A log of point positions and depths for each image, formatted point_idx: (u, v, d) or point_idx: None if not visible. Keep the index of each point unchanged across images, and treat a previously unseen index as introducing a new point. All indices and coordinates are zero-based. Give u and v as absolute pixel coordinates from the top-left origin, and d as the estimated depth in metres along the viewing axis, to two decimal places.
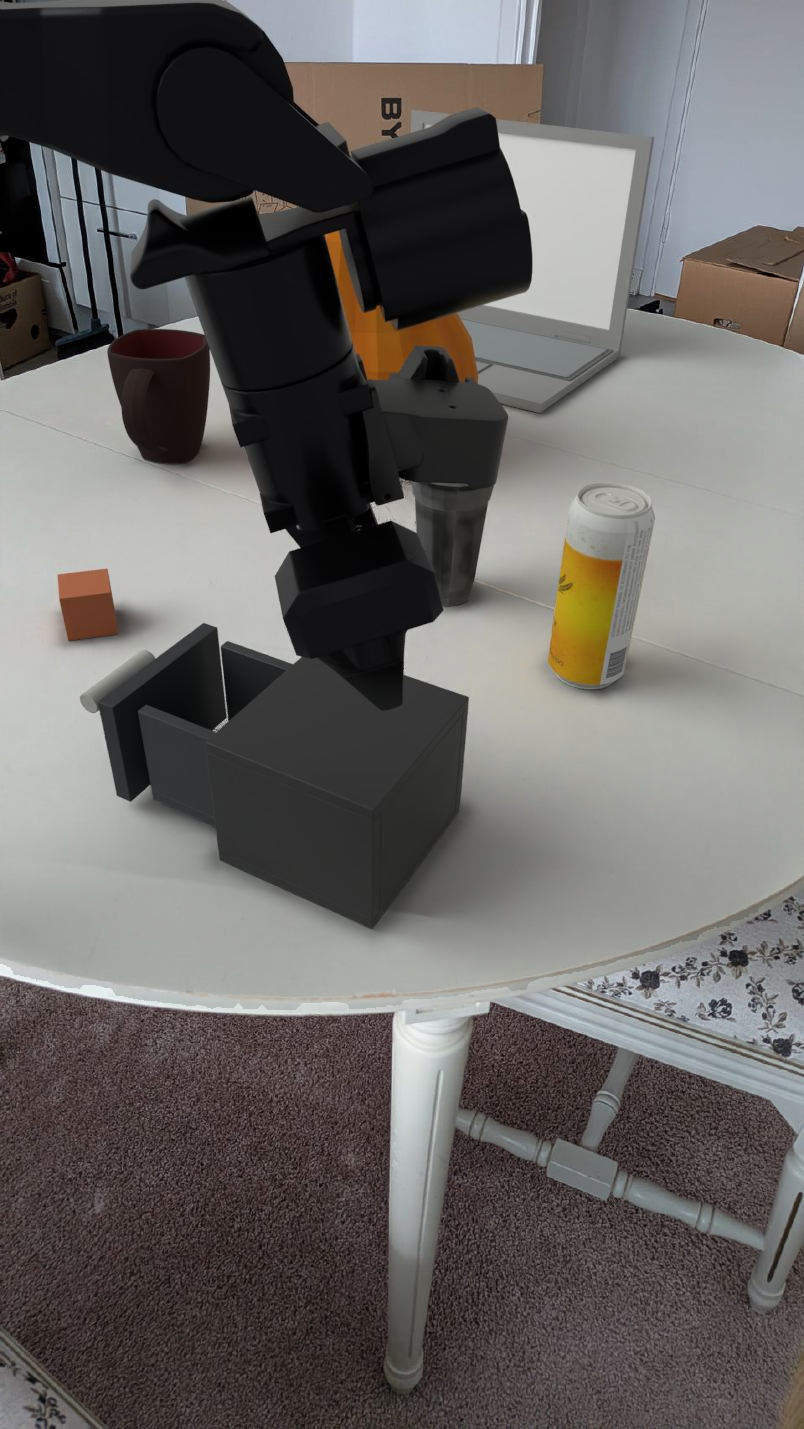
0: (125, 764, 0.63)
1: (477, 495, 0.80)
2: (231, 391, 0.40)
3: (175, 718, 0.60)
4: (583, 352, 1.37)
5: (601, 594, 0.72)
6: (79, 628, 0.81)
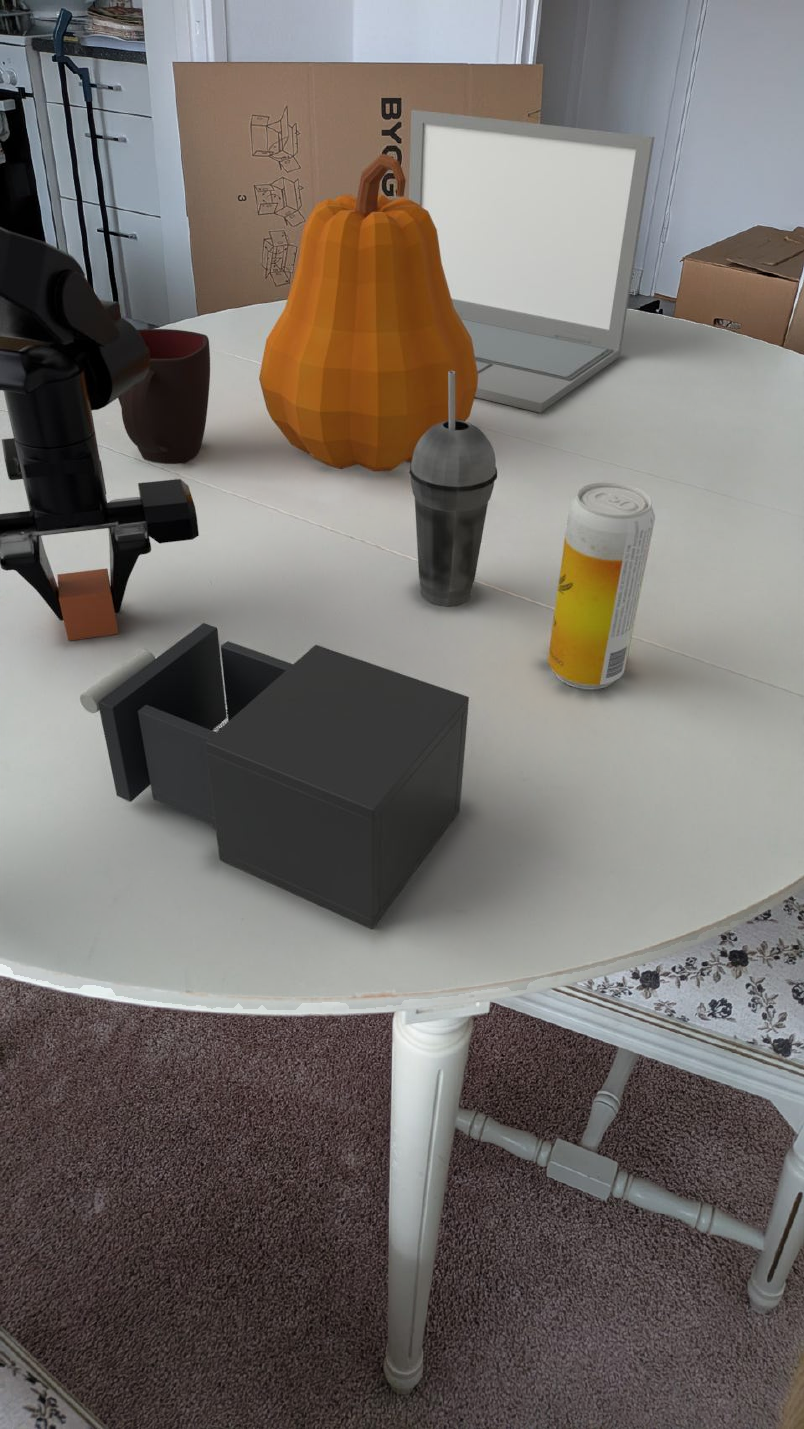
0: (125, 764, 0.63)
1: (477, 495, 0.80)
2: (75, 445, 0.71)
3: (175, 718, 0.60)
4: (583, 352, 1.37)
5: (601, 594, 0.72)
6: (78, 628, 0.81)
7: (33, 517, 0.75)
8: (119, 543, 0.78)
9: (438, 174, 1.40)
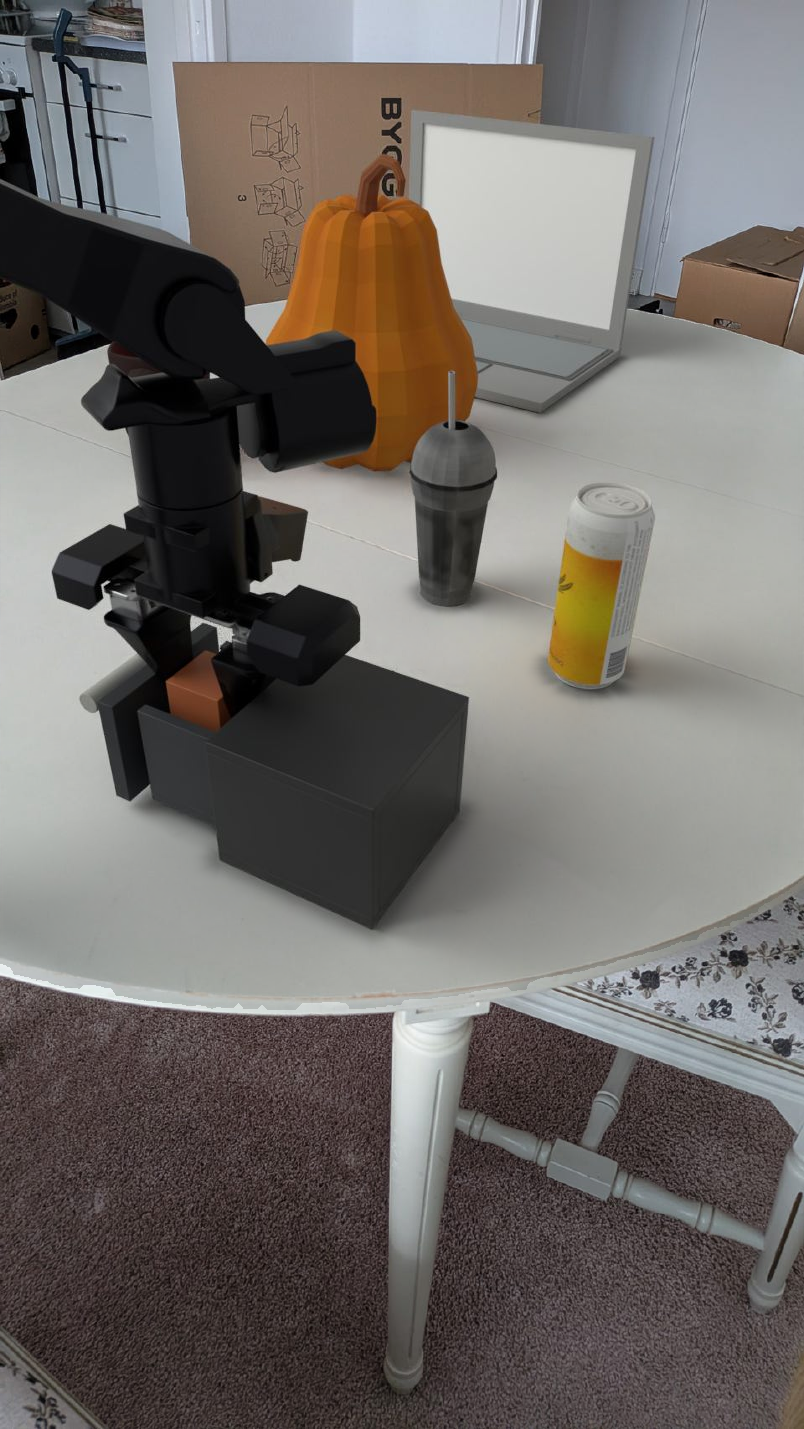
0: (124, 764, 0.63)
1: (477, 495, 0.80)
2: (180, 512, 0.52)
3: (174, 717, 0.60)
4: (583, 352, 1.37)
5: (601, 594, 0.72)
6: None
7: None
8: (232, 649, 0.57)
9: (438, 174, 1.40)
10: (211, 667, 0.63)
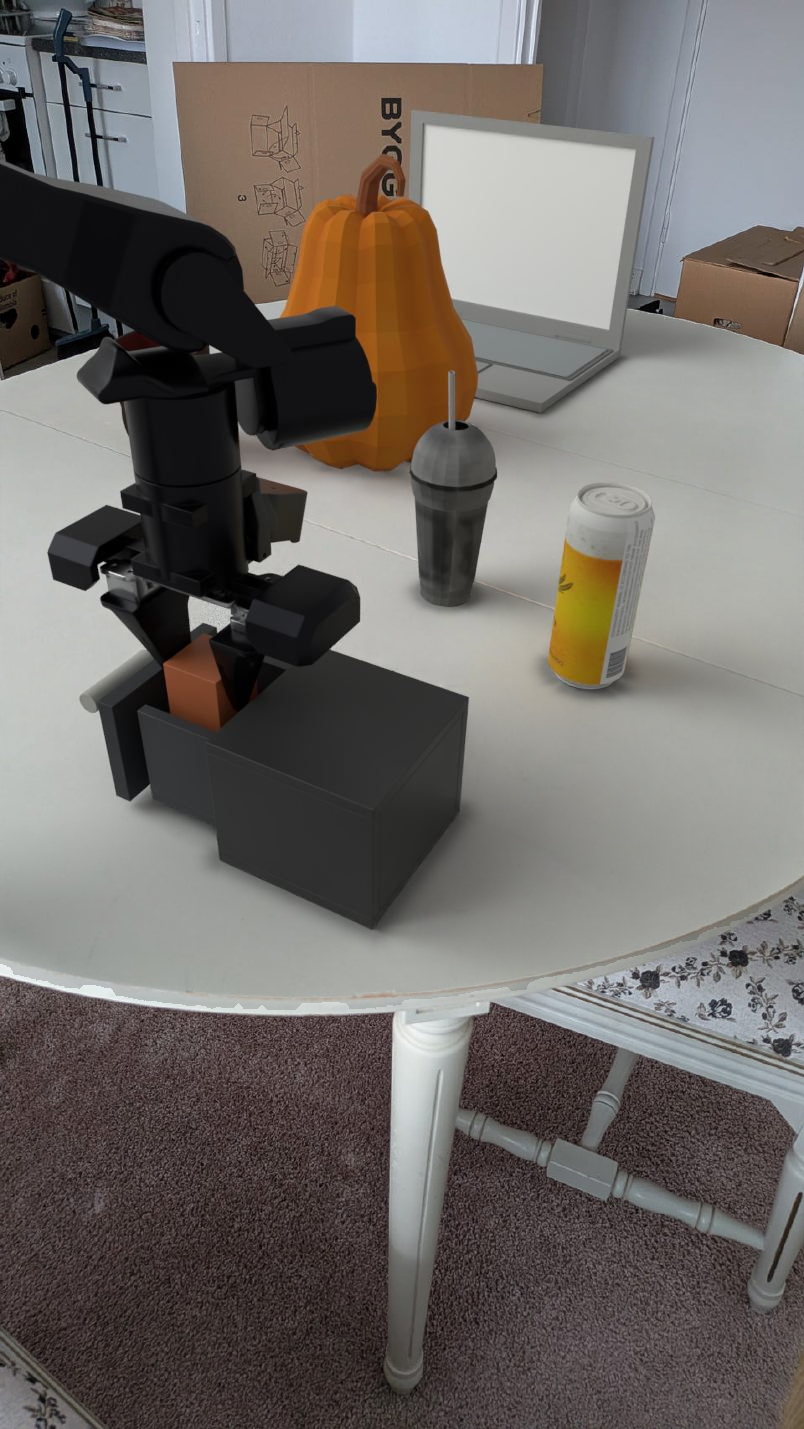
0: (124, 764, 0.63)
1: (477, 495, 0.80)
2: (177, 488, 0.51)
3: (174, 717, 0.60)
4: (583, 352, 1.37)
5: (601, 594, 0.72)
6: (181, 707, 0.62)
7: None
8: (230, 630, 0.57)
9: (438, 174, 1.40)
10: (209, 650, 0.62)
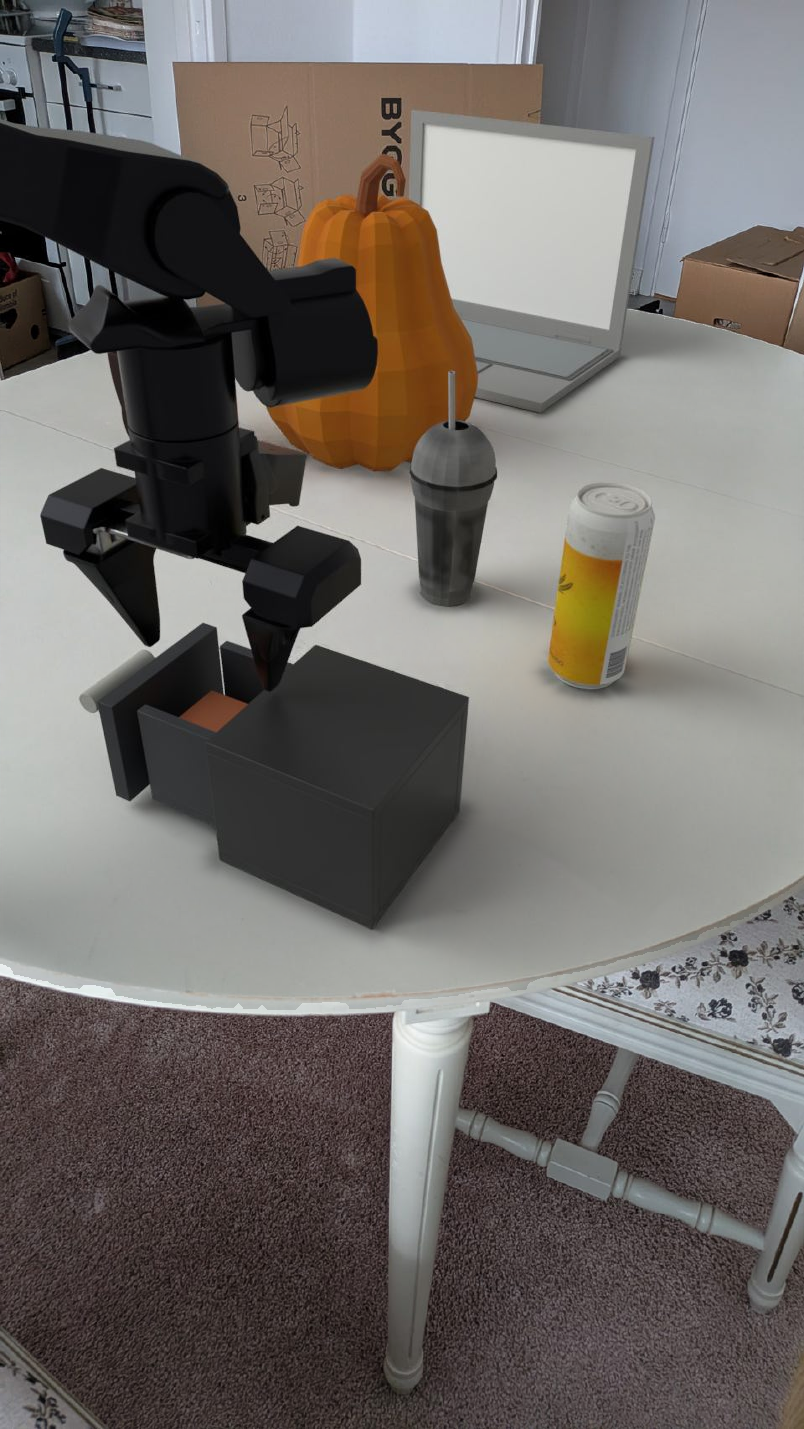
0: (124, 764, 0.63)
1: (477, 495, 0.80)
2: (173, 444, 0.50)
3: (174, 717, 0.60)
4: (583, 352, 1.37)
5: (601, 594, 0.72)
6: None
7: None
8: None
9: (438, 174, 1.40)
10: (217, 707, 0.65)
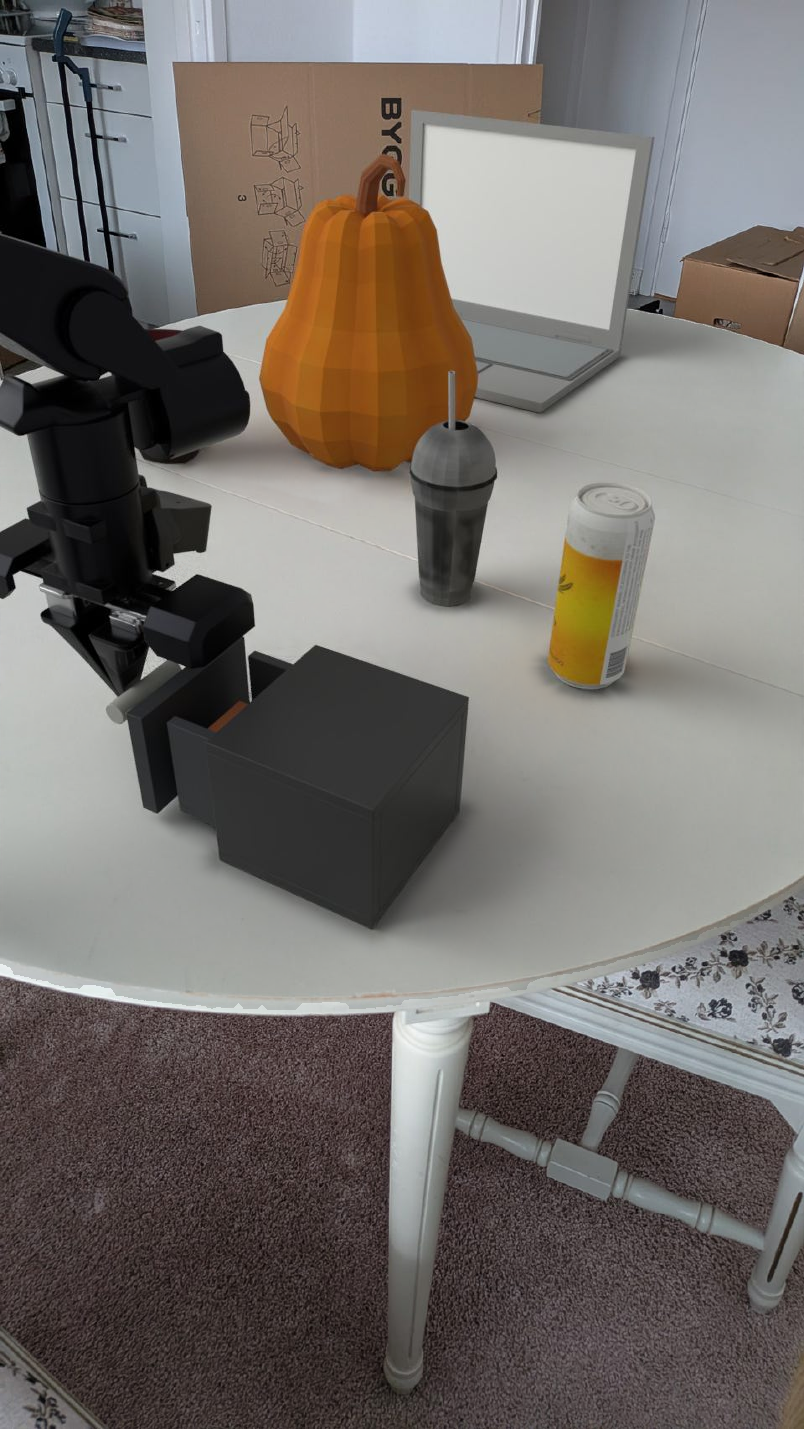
0: (152, 776, 0.62)
1: (477, 495, 0.80)
2: (76, 506, 0.56)
3: (205, 729, 0.59)
4: (583, 352, 1.37)
5: (601, 594, 0.72)
6: None
7: None
8: (110, 626, 0.62)
9: (438, 174, 1.40)
10: None
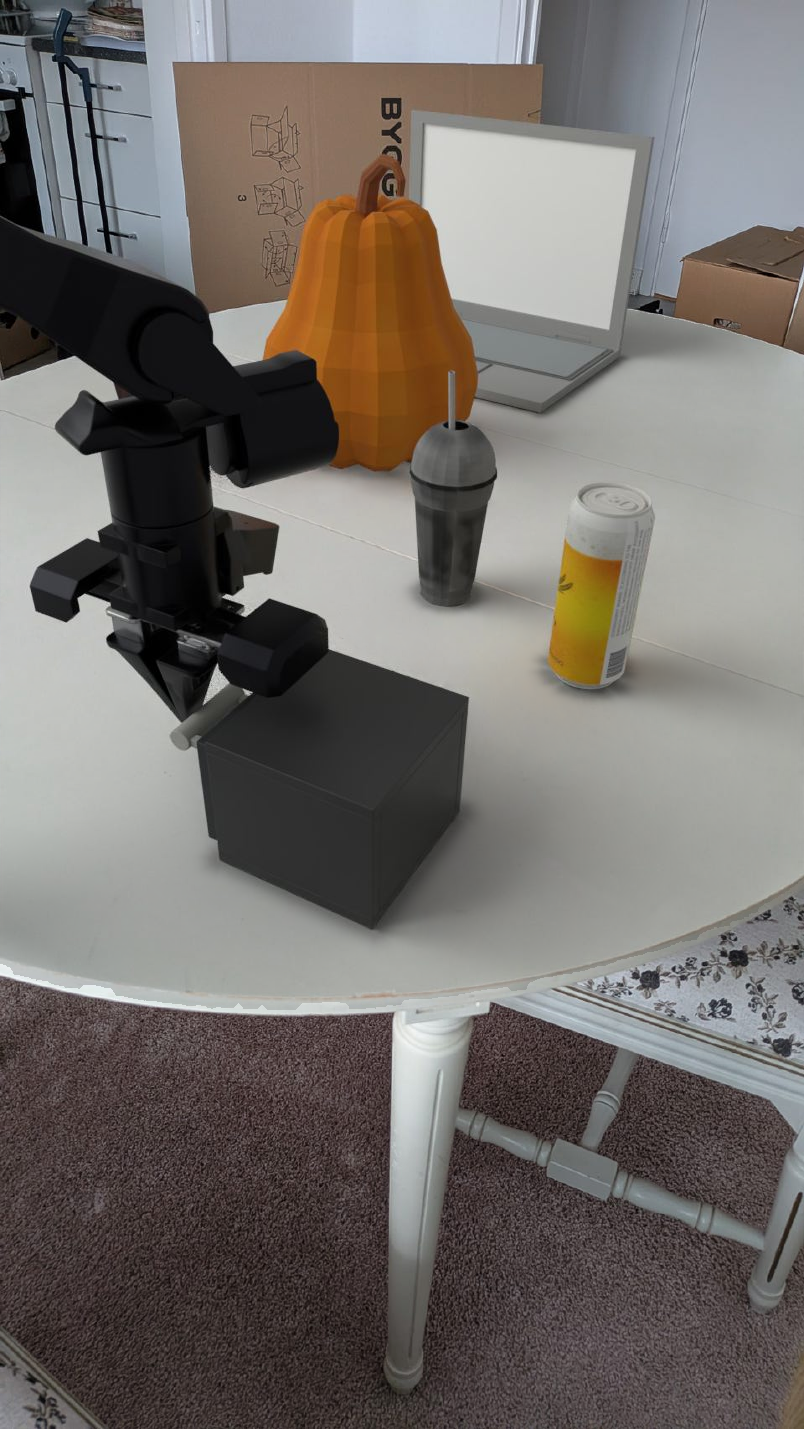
0: None
1: (477, 495, 0.80)
2: (152, 530, 0.54)
3: None
4: (583, 352, 1.37)
5: (601, 594, 0.72)
6: None
7: None
8: (177, 651, 0.60)
9: (438, 174, 1.40)
10: None
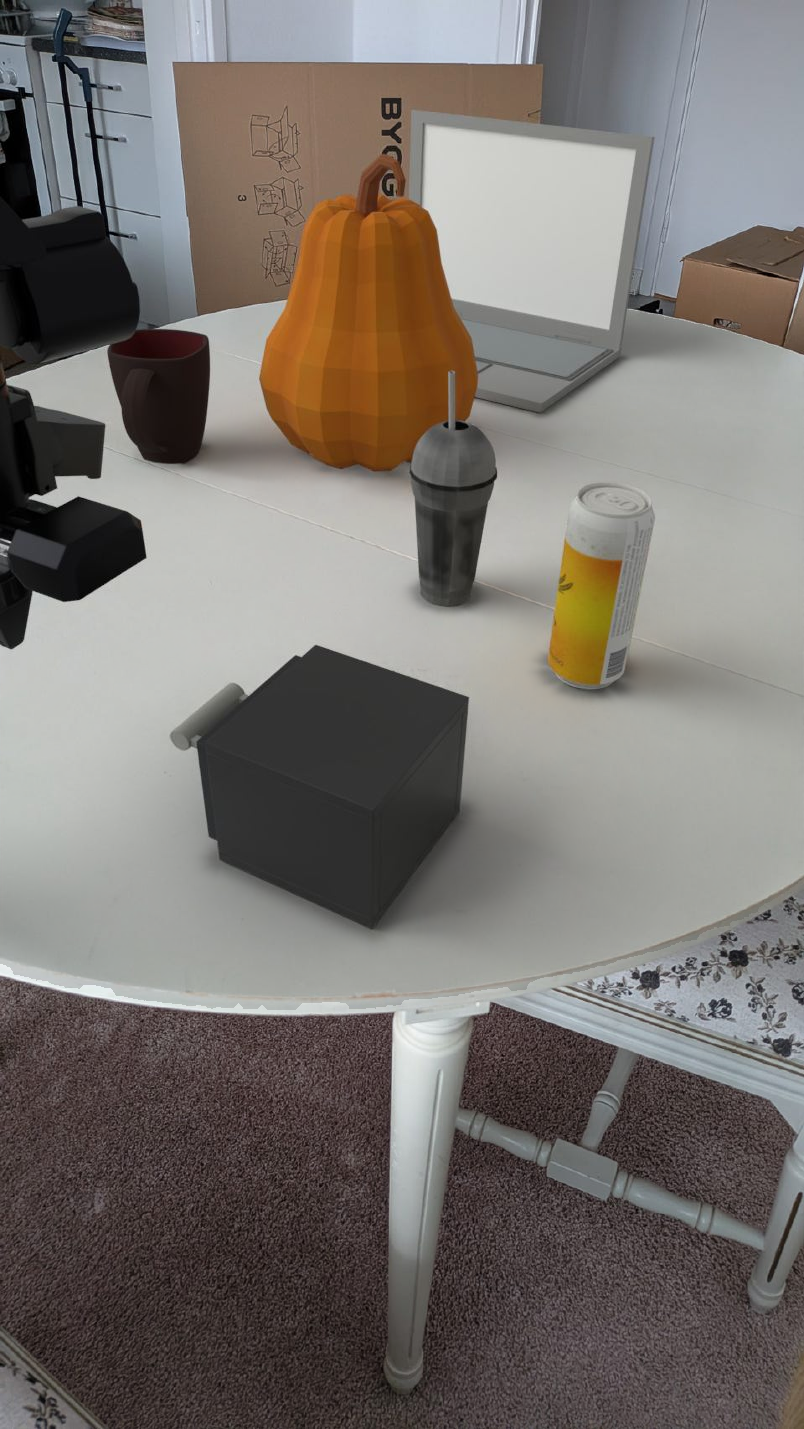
0: None
1: (477, 495, 0.80)
2: None
3: None
4: (583, 352, 1.37)
5: (601, 594, 0.72)
6: None
7: None
8: None
9: (438, 174, 1.40)
10: None
